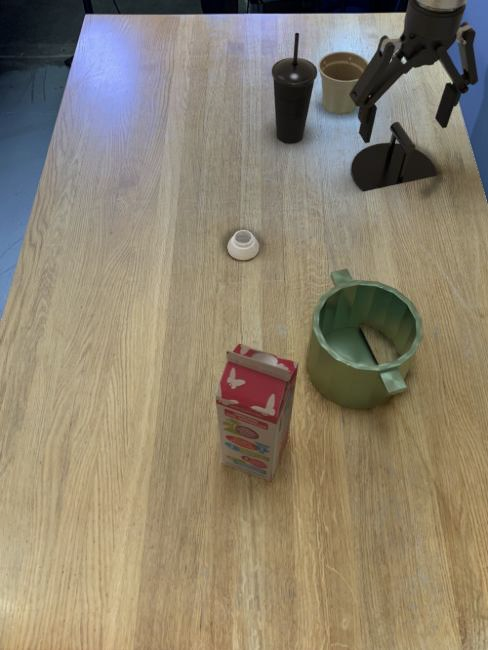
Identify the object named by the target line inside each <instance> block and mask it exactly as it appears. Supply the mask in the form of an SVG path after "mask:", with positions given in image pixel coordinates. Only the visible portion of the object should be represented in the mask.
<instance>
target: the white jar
mask: <svg viewBox="0 0 488 650" xmlns="http://www.w3.org/2000/svg"><path fill="white" fill-rule="evenodd" d="M226 248H227V252H228V254H229V255H230V256H231V257H232V258H234V259H236V260H239V261H240V260H241V261H246V260H251V259H254V258H255V257H256V256H257V255H258V254H259V251H260V244H259V241H258V239H256V237H255V236H254V235H253V233H252V232H250V231H249V230H247V229H241V230H238V231H236V232H234V235H232V237H231V238H230V239H229V241H228V243H227V246H226Z"/></svg>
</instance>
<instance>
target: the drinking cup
mask: <svg viewBox="0 0 488 650" xmlns="http://www.w3.org/2000/svg"><path fill="white" fill-rule="evenodd" d="M299 41H300V32H295V33H294V43H293V56H292V57H286V58H283V59H280V60H278V61H277V62H275V63H274V64H273V65H272V67H271V77H272V78H273V95H274V97H273V98H274V114H275V116H274V117H275V131H276V139H277V140H278V141H279V142H281V143H283V144H286V145H293V144H297V143H299V142H301V141H302V140H303V138H304V133H305V128H306V124H307V118H308V114H309V108H310V104H311V98H312V94H313V91H314V90H313V89H314V85H315V80H316V79H317V76H318V69H317V68H318V67H317V66H316V65H315V64H314V63H313V62H312V61H310V60H308V59H305V58H301V57H299V43H300V42H299Z"/></svg>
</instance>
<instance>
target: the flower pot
mask: <svg viewBox="0 0 488 650" xmlns="http://www.w3.org/2000/svg"><path fill="white" fill-rule="evenodd" d="M368 64H369V61H368V60H367V59H366V58H365V57H363V56H362V55H360V54H358V53H355V52H352V51H346V50H345V51H343V50H341V51H333V52H330V53H327V54H325V55H324V56H322V57H321V58H320V59H319V61H318V63H317V68H318V69H317V70H318V72H319V76H320V78H321V96H322V97H321V98H322V99H321V101H322V102H321V103H322V107H323V108H324V109H325V110H326V111H327V112H328V113H331V114H335V115H345V114H349V113H351V112H352V111H353V110H354V109H355V108H356V105H355V103H354V102H353V100H352V99H351V97H350V92H351V90H352V89H353V87H354V86H355V84H356V83H357V81H358V79H359V78H360V76H361V75H362V73H363V72H364V70H365V68H366V67H367V65H368Z"/></svg>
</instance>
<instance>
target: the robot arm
mask: <svg viewBox="0 0 488 650" xmlns="http://www.w3.org/2000/svg"><path fill="white" fill-rule="evenodd" d="M468 1H469V0H408V3H407V7H406V10H405V16H404V21H403V31H402V33H401V35H400V36H399V38H390V37H389V36H388V35H386V34H385V35H382V36H381V37H380V39H379V42H378V45H377V49H376V51H375V53H374V54H373V56H372V57H371V59H370V61H368V63H369V64H368V65H367V67H366V68H365V70H364V72H363V73H362V75H361V76H360V78H359V79H358V81H357V83H356V84H355V86H354V87H353V89H352V90H351V92H350V97H351V99H352V100H353V102H354V103H355V107H358V112H357V119H358V121H359V123H360V124H359V129H358V134H359V136H360V137H361V139H362V140H363V142H364V144H369V143H370V142H371V138H372V133H373V128H374V125H375V121H376V115H377V111H378V107H377V105H376V103H377V102H378V101H379V100H380V99H381V98H382V97H383V96H384V95H385V94H386V93H387V91H388V90H389V89H391V87H392V86H393V85H394V84H395V83H396V82H397V81H398V80H399V79H400V78H401V77H402V76H403V75H407V74H408V73H409V72H410V71H411V70H412V69H413V68H414V69H417V68H421V67H423V66H434V65H435V63H437V62H438V61H439V63H440V65H441V66H442V68H443V69H444V71H445V72H446V75H448V78H449V79H450V82H445V85H444V87H443V90H442V91H443V92H442V95H441V98H440V102H439V104H438V108H437V110H436V114H435V117H434V119H435V120H436V122H437V123H438V124H439V126H440V127H441V128H442V129H447V127H448V125H449V121H450V119H451V116H452V113H453V110H454V108H455V107H457V106H458V105H459V102H460V100H461V96H462V94H466V93H468V91H469V90H470V89H469V86H470V85H472V86H474V85H477V83H478V82H479V76H478V70H477V69H478V67H477V62H476V55H475V49H474V42H475V38H476V33H477V32H476V30H475V29H474V28H473V27H472V26H471V25H470V24H469V23H468V22H467V21H463V22H462V20H463V17H464V14H465V11H466V7H467V5H466V4H467V2H468ZM455 42H457V47H458V53H459V58H460V64H461V71H462V74H460V72H459V70H458V68H457V66H456V65H455V63H454V62H453V60H452V58H451V56H450V54H449V53H448V51H449V49H450V48H451V47H452V46H453V45H454V44H455ZM403 58H404V59H405V62H403V60H402V59H403ZM451 82H452V83H451Z"/></svg>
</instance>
